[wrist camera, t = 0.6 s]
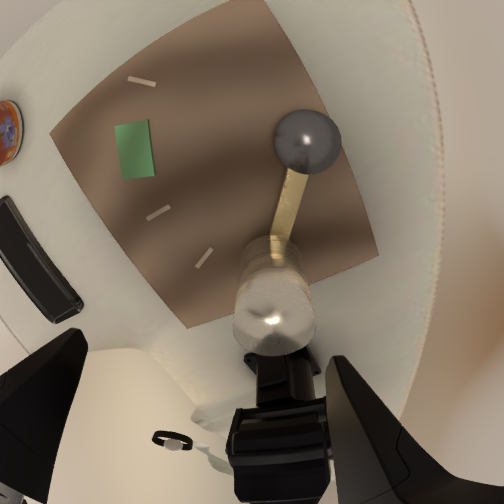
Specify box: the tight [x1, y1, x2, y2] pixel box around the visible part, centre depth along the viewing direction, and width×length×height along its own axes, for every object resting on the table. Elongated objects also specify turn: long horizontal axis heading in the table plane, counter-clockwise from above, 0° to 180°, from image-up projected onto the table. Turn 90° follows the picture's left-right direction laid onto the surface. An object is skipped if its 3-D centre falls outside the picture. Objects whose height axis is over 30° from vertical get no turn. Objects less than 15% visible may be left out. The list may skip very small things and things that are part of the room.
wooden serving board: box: [49, 0, 379, 329], centre depth 17 cm, size 20×17×2 cm
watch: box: [152, 431, 193, 453], centre depth 40 cm, size 8×5×4 cm, turn 85°
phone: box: [0, 195, 84, 324], centre depth 22 cm, size 8×1×15 cm
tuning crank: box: [233, 109, 341, 356], centre depth 14 cm, size 13×4×7 cm, turn 167°
